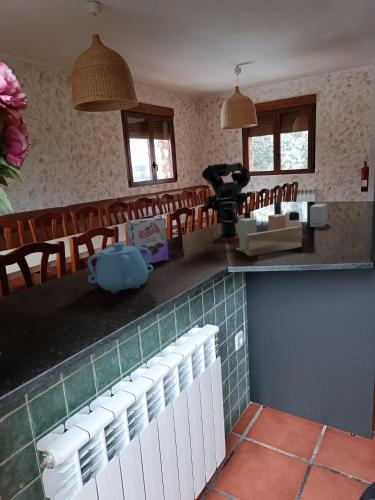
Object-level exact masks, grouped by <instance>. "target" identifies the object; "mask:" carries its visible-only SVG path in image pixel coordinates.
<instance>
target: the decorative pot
mask: <svg viewBox="0 0 375 500" xmlns="http://www.w3.org/2000/svg"><path fill="white" fill-rule="evenodd" d="M141 250H144V251H146V252H147V259H146V263H145V261H144V259H143V257H142V255H141V254H140V252H139V251H141ZM150 257H151V253H150V251H149V250H148V249H147V248H145V247H139V248H136V247H134V246H129V245H125V242H121V241H119V242H114V243H113V244H112V247H107V248H104V249H102V250H100V253H96V254H93V255H92V254H91V256H90V257H89V258H88V260H87V267H88V269H89V271H90V273H91V274H90V275H89V276H88V282H89V283H90V284H94V285H95V284H98V285H99V286H100V288H101V289H102V290H105V291H110V293H113V294H116V293H119V292H120V291H121V290H122V291H123V290H128V289H140V288H141V286H142V285H144V284H145V283H146V282H147V280H148V278H149V274H151V273H152V272H153V271H154V266H153V265H152V264H149V262H150ZM96 258H97V261H96V265H95V270H94V267H93V265H92V261H93V260H94V259H96ZM149 268H150V269H149ZM92 278H94V279H92Z"/></svg>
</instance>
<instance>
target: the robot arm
mask: <svg viewBox="0 0 375 500" xmlns="http://www.w3.org/2000/svg"><path fill="white" fill-rule="evenodd" d="M230 174H231V175H230ZM201 176H202V178H203V179H204V180H205V181H206V183H208V184H209V185H210V186H211V188H212V190H213V192H214V195H208V196H207V197H206V200H205V202H204V207H205V209H206V210H210V209H211V210H212V211H215V212H216V220H217V224H220V225H221V226H220V228H221V229H220V230H221V231H220V232H221V234H219V237H226V238H231V237H234V236H237V235H238V233H237V229H236V228H237V227H236V224H238V223H239V217H238V215H239V216H241V214H242V207H241V206H243V205H244V204H245V202H246V200H247V198H248V195H247V193H246V192H242V190H243V189H244V188H245V187H247V186H248V185H249V183H250V181H251V174H250V171H249V169H247V168H246V167H244V165H243V164H242V162H233V163H230V164H229V163H227V162H226V163H215V164H211V165H210V164H209V165H207V167H206V168H205V169H203V170H202V174H201ZM228 176H230V177H231V179H232V181H229V182H224V181H225V180H224V179H223V177H228ZM236 213H237V214H238V215H237V214H236ZM238 236H239V235H238Z"/></svg>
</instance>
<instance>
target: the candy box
mask: <svg viewBox="0 0 375 500" xmlns="http://www.w3.org/2000/svg"><path fill="white" fill-rule="evenodd" d="M126 231H127V239H128V246H134V247H136V248H139V247H145V248H147V249H148V250H149V251H150V253H151V257H150V262H149V265H151V264H156V263H159V262H166V261H169V260H170V257H169V256H170V255H169V254H170V253H169V244H168V243H169V242H168V231H167V221H166V217H162V216H155V217H148V218H140V219H133V220H126ZM139 252H140V254H141V255H142V257H143V259H144V261H145V263H146V259H147V252H146V251H144V250H141V251H139Z"/></svg>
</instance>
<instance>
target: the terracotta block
mask: <svg viewBox="0 0 375 500" xmlns="http://www.w3.org/2000/svg"><path fill="white" fill-rule="evenodd" d="M267 220H268V221H267V225H268V226H267V229H268V230H267V231H271V230H278V229H284V228H286V215H285V214H279V213H277V214H270V215H267Z"/></svg>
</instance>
